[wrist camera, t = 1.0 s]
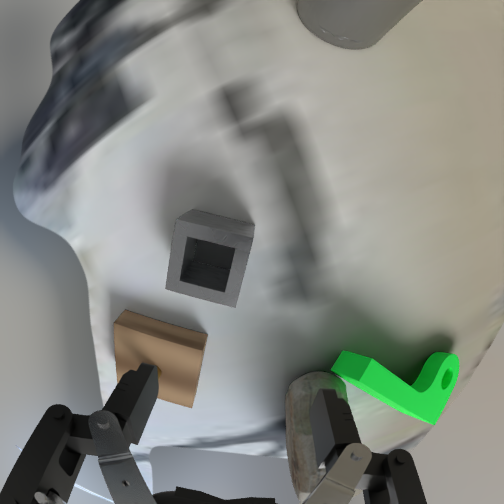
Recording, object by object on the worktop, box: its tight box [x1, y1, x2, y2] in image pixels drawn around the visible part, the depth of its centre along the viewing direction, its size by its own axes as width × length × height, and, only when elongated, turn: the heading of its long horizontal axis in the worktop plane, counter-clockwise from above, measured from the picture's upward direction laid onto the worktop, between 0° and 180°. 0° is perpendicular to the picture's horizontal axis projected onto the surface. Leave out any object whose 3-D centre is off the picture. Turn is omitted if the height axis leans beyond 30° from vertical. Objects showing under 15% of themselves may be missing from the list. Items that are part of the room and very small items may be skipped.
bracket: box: [331, 351, 459, 425], centre depth 28 cm, size 20×10×7 cm, turn 51°
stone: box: [285, 371, 358, 502], centre depth 25 cm, size 19×7×15 cm, turn 2°
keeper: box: [114, 310, 208, 408], centre depth 26 cm, size 10×10×8 cm
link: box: [165, 209, 255, 307], centre depth 23 cm, size 6×6×5 cm
